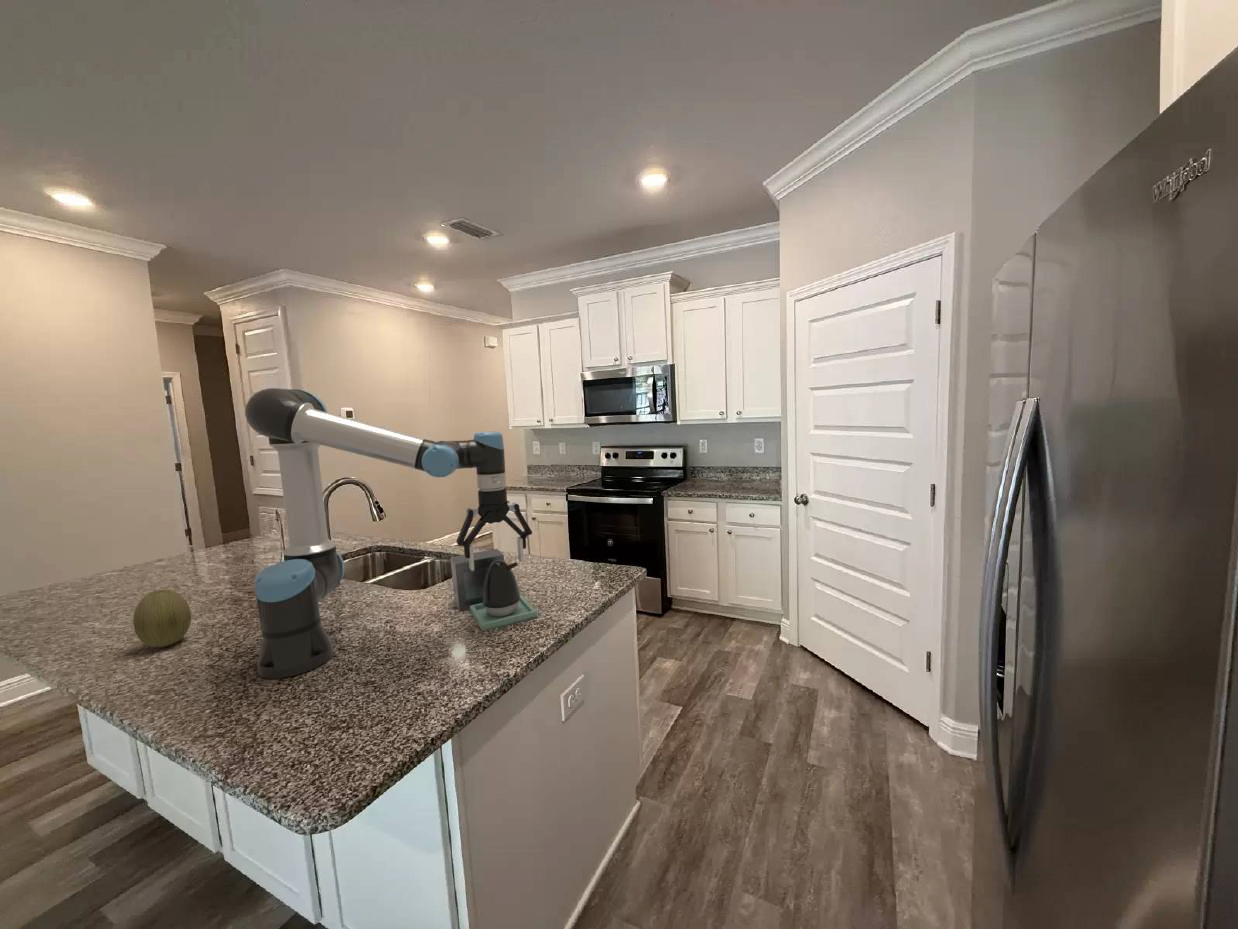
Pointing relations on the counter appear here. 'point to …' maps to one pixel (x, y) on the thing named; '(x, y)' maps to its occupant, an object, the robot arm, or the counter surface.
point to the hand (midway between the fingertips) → (497, 564)
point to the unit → (471, 577)
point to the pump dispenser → (500, 589)
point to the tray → (492, 622)
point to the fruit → (162, 618)
